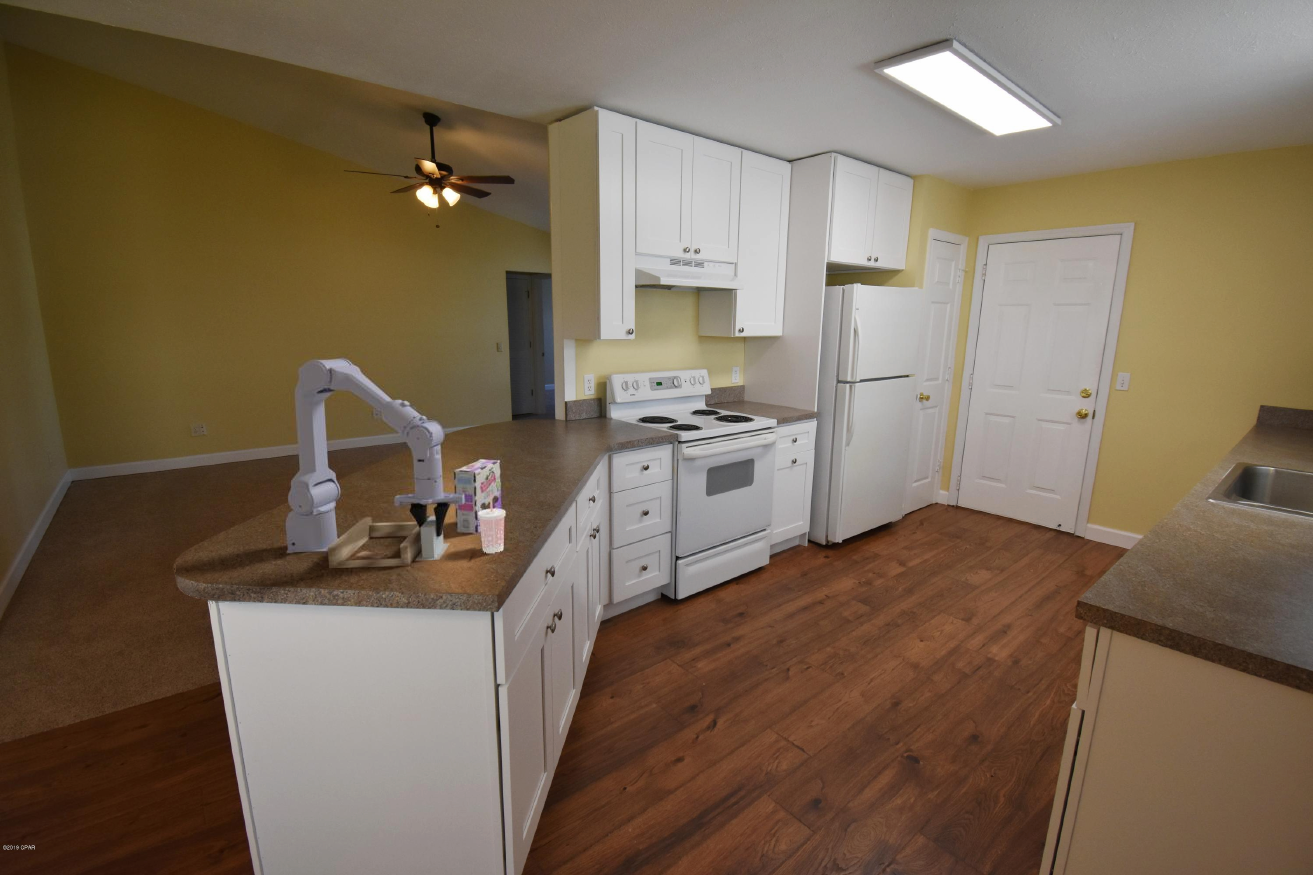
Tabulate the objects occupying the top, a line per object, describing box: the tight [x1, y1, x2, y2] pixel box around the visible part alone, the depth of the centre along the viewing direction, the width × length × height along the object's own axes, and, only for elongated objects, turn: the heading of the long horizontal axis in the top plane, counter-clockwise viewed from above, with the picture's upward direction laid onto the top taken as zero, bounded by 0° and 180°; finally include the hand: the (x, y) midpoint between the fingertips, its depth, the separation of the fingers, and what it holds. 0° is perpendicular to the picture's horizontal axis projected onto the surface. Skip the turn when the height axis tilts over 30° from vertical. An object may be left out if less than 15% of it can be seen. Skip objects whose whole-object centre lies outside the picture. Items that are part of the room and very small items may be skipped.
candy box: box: [453, 458, 503, 535], centre depth 146 cm, size 14×6×16 cm, turn 168°
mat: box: [414, 542, 451, 562], centre depth 128 cm, size 5×10×1 cm, turn 7°
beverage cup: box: [478, 491, 506, 554], centre depth 130 cm, size 6×6×14 cm
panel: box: [421, 515, 444, 558], centre depth 128 cm, size 8×2×7 cm, turn 7°
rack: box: [327, 515, 431, 569], centre depth 129 cm, size 16×20×5 cm
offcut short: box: [354, 550, 388, 560], centre depth 123 cm, size 6×2×1 cm, turn 76°
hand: (432, 535), depth 128 cm, fingers closed on panel, 2 cm apart
